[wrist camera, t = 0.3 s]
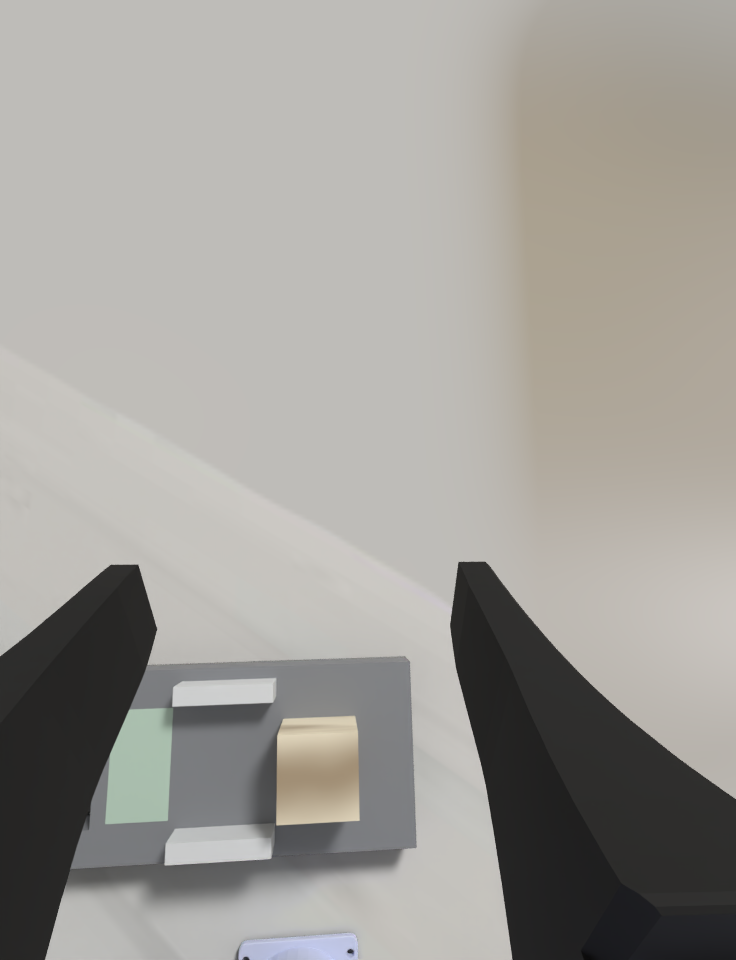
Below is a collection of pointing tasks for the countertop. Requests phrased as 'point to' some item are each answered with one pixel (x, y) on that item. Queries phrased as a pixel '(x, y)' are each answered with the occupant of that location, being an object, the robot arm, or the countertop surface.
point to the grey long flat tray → (247, 763)
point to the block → (317, 770)
